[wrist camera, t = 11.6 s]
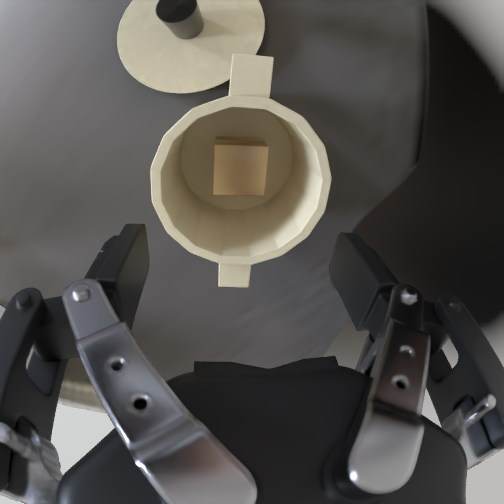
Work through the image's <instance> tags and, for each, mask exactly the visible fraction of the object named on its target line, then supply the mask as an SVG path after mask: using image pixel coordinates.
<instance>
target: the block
mask: <svg viewBox="0 0 504 504" xmlns="http://www.w3.org/2000/svg"><path fill="white" fill-rule="evenodd" d="M268 152H269V147H268V145H267V144H266V143H265V142H264V140H263V139H262V138H247V137H216V140H215V144H214V169H213V195H249V196H264V193H265V183H266V173H267V162H268Z"/></svg>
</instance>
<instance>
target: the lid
mask: <svg viewBox="0 0 504 504" xmlns="http://www.w3.org/2000/svg"><path fill="white" fill-rule="evenodd" d="M264 31H265V18H264V13H263V9H262V6H261V4H260V2H259V0H133V1H132V2H131V3H130V5H129V6H128V8H127V9H126V11H125V13H124V15H123V17H122V19H121V22H120V25H119V29H118V34H117V46H118V52H119V56H120V58H121V61H122V63H123V65H124V66H125V68H126V69H127V71H128V72H129V73H130V74H131V75H132V76H133V77H134V78H135V79H137V80H138V81H139V82H141V83H142V84H144V85H146V86H148V87H150V88H153V89H155V90H159V91H163V92H169V93H194V92H199V91H204V90H207V89H211V88H213V87H216V86H218V85H221V84H223V83H224V82H226V81H228V80H230V75H231V65H232V56H233V54H247V55H256V53H257V51H258V49H259V47H260V45H261V43H262V40H263V36H264Z"/></svg>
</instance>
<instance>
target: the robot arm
mask: <svg viewBox="0 0 504 504" xmlns="http://www.w3.org/2000/svg"><path fill="white" fill-rule="evenodd" d="M148 270H149V253H148V244H147V235H146V227H145V225H144V224H126V225H125V226H124V228H123V230H122V231H121V233H120V235H119V236H113V237H112V238H110V239H109V240H108V241H106V242H105V244H104V245H103V247H102V248H101V251H100V252H99V253H98V255H97V258H95V260H94V262H93V264H92V265H91V267H90V269H89V271H88V272H87V274H86V276H85V278H84V279H80V280H77V281H74V282H73V283H71V284H70V285H68V286H67V287H66V289H65V290H64V292H63V294H62V296H60V297H55V298H49V299H43V297H42V294H41V292H40V291H39V290H38V289H36V288H26V289H23V290H21V291H19V292H18V293H16V294H15V295H14V296H13V298H12V299H11V300H10V302H9V304H8V306H7V308H6V309H5V311H4V313H3V315H2V317H1V319H0V495H2V496H4V497H7V498H10V499H12V500H15V501H20V502H22V503H24V504H466V496H465V493H466V477H467V470H468V469H470V468H472V467H473V466H475V465H477V464H479V463H481V462H482V461H484V460H486V459H487V458H489V457H491V456H493V455H494V454H496V453H497V452H499V451H500V450H502V449H504V367H503V366H502V364H501V362H500V360H499V358H498V357H497V355H496V353H495V352H494V350H493V348H492V347H491V345H490V344H489V342H488V340H487V338H486V337H485V335H484V334H483V332H482V331H481V329H480V328H479V326H478V324H477V323H476V321H475V320H474V319H473V317H472V316H471V314H470V313H469V311H468V310H467V308H466V307H465V306H464V304H463V303H462V302H461V301H460V300H459V299H458V298H456V297H455V296H453V295H451V294H442V295H441V296H440V297H439V299H438V301H437V303H433V302H428V301H425V300H424V298H423V296H422V294H421V293H420V292H419V291H418V290H417V289H415V288H414V287H412V286H410V285H407V284H400V283H399V282H398V280H397V279H396V278H395V276H394V275H393V274H392V272H391V271H390V270H389V268H388V267H387V266H386V264H385V263H384V262H383V261H382V260H381V258H380V256H379V255H378V254H377V253H376V251H374V250H373V249H372V248H370V247H369V246H368V245H366V244H365V242H364V241H363V240H362V239H361V237H360V236H359V235H358V234H357V233H344V232H341V233H340V234H339V235H338V237H337V240H336V244H335V247H334V251H333V254H332V257H331V261H330V265H329V272H330V276H331V278H332V280H333V282H334V284H335V286H336V288H337V290H338V292H339V294H340V296H341V298H342V300H343V303H344V305H345V307H346V309H347V311H348V313H349V315H350V317H351V319H352V321H353V323H354V325H355V328H356V330H357V331H363V330H369V332H370V333H369V335H368V337H367V338H366V341H365V344H364V347H363V350H362V353H361V356H360V358H359V361H358V364H357V366H356V369H355V370H354V369H351V368H348V367H343V366H339V365H338V362H337V360H336V357H335V356H329V357H320V358H309V359H302V360H299V361H296V362H292V363H289V364H286V365H282V366H279V367H276V368H271V369H266V368H260V367H255V366H249V365H244V364H239V363H234V362H200V361H194V372H190V373H186V374H182V375H179V376H177V377H174V378H172V379H170V380H168V381H166V382H165V380H164V379H163V378H162V376H161V375H160V374H159V372H158V371H157V369H156V368H155V367H154V365H153V364H152V362H151V361H150V360H149V358H148V357H147V355H146V354H145V352H144V351H143V349H142V348H141V346H140V345H139V343H138V342H137V340H136V339H135V337H134V335H133V334H132V332H131V329H132V325H133V321H134V318H135V314H136V311H137V307H138V304H139V300H140V297H141V293H142V290H143V287H144V284H145V280H146V277H147V274H148ZM449 338H450V339H451V341H452V343H453V344H454V346H455V348H456V350H457V352H458V356H459V358H458V362H457V364H456V365H455V367H454V368H453V369H452V368H451V365H450V363H449V362H448V360H447V358H446V356H445V354H444V352H443V350H442V347H443V346H444V344H445V343H446V342H447V340H448V339H449ZM31 348H32V349H33V353H32V356H31V358H30V361H29V364H28V367H27V369H26V363H27V359H28V356H29V354H30V351H31ZM73 357H81V360H82V362H83V365H84V367H85V369H86V372H87V374H88V376H89V378H90V380H91V383H92V385H93V387H94V389H95V391H96V393H97V395H98V397H99V399H100V401H101V403H102V405H103V407H104V409H105V410H106V412H107V414H108V416H109V418H110V420H111V421H112V423H113V425H114V426H115V428H114V429H113V430H112V431H111V432H110V433H109V434H108V435H107V436H106V437H105V438H103V439H102V440H101V441H100V442H99V443H98V444H97V445H96V446H95V447H94V448H92V449H91V450H90V451H89V452H88V453H87V454H86V455H85V456H84V457H83V458H82V459H80V460H79V461H78V462H77V463H76V464H75V465H73V466H72V467H71V468H70V469H69V470H68V471H67V472H66V473H65V474H64V475H62V473H61V471H60V467H61V466H60V462H59V457H58V453H57V451H56V448H55V447H54V445H53V444H52V443H51V434H52V428H53V422H54V417H55V412H56V407H57V402H58V397H59V393H60V389H61V384H62V380H63V376H64V373H65V369H66V365H67V362H68V358H73ZM426 388H427V390H428V393H429V395H430V398H431V400H432V403H433V405H434V407H435V410H436V413H437V415H438V418H439V421H440V424H441V426H442V428H441V427H439V426H438V425H436V424H435V423H433V422H432V421H430V420H429V419H428V418H426V417H425V416H423V415H422V414H421V412H422V407H423V401H424V395H425V389H426Z"/></svg>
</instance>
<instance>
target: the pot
mask: <svg viewBox="0 0 504 504" xmlns="http://www.w3.org/2000/svg"><path fill="white" fill-rule="evenodd" d="M273 62H274V57H267V56H258V55H247V54H233V56H232V65H231V75H230V86H229V96H225V97H222V98H219V99H216V100H213V101H211V102H208V103H205V104H202V105H200V106H197V107H195V108H193V109H191V110H190V111H189V112H188V113H187V114H186V115H184V116H183V117H182V118H181V119H180V120H179V121H178V122H177V123H176V124H175V125H174V126H173V127H172V128H171V129H170V130H169V131H168V132H167V133H166V134H165V135H164V136H163V139H162V141H161V143H160V146H159V148H158V151H157V153H156V156H155V158H154V161H153V163H152V166H151V170H150V171H151V193H152V203H153V206H154V208H155V210H156V212H157V214H158V216H159V218H160V220H161V222H162V224H163V226H164V228H165V229H166V231H167V233H168V234H169V235H171V236H172V237H173V238H174V239H175V240H176V241H177V242H179V243H180V244H181V245H182V246H183V247H184V248H186V249H187V250H188V251H189V252H191V253H193V254H195V255H198V256H201V257H203V258H206V259H209V260H211V261H214V262H217V263H219V287H249V280H250V271H251V264H252V265H253V264H256V263H259V262H262V261H266V260H269V259H272V258H275V257H279V256H282V255H283V254H285V253H286V252H287V251H289V250H290V249H292V248H293V247H294V246H296V245H297V244H298V243H300V242H301V241H303V240H304V239H305V238H307V237H308V236H309V234H310V233H311V231H312V230H313V228H314V227H315V225H316V224H317V222H318V221H319V219H320V218H321V216H322V215H323V213H324V212H325V209H326V204H327V200H328V195H329V190H330V185H331V178H332V177H331V172H330V167H329V162H328V158H327V153H326V149H325V146H324V144H323V143H322V141H321V140H320V138H319V137H318V136H317V134H316V133H315V132H314V130H313V129H312V127H311V126H310V125H309V123H308V122H307V121H306V120H305V118H303V116H301V115H299V114H297V113H296V112H294V111H292V110H290V109H289V108H287V107H285V106H283V105H281V104H280V103H278V102H276V101H274V100H272V99H269V98H270V89H271V80H272V71H273ZM216 137H247V138H262V139H263V140H264V142H265V143H266V144H267V145H268V147H269V152H268V162H267V173H266V183H265V193H264V196H249V195H213V169H214V144H215V140H216Z"/></svg>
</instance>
